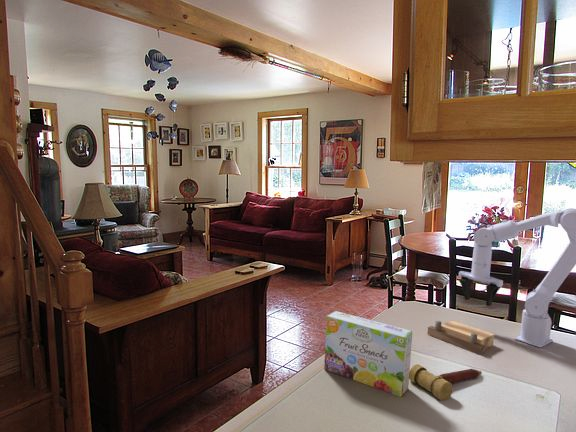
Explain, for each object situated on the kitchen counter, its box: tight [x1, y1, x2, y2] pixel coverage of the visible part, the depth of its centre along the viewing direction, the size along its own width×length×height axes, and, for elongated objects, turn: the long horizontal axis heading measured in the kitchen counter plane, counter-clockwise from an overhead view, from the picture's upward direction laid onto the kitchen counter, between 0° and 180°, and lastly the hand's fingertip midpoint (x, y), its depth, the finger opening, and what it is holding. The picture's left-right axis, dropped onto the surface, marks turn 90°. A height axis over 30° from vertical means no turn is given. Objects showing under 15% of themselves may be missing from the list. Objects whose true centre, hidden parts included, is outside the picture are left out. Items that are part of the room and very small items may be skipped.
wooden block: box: [441, 320, 495, 351], centre depth 133 cm, size 8×14×4 cm, turn 38°
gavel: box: [409, 364, 483, 401], centre depth 106 cm, size 21×5×10 cm
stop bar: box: [427, 320, 485, 356], centre depth 131 cm, size 2×18×5 cm, turn 37°
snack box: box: [324, 310, 413, 398], centre depth 105 cm, size 21×6×15 cm, turn 55°
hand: (477, 302), depth 143 cm, fingers open, 7 cm apart
